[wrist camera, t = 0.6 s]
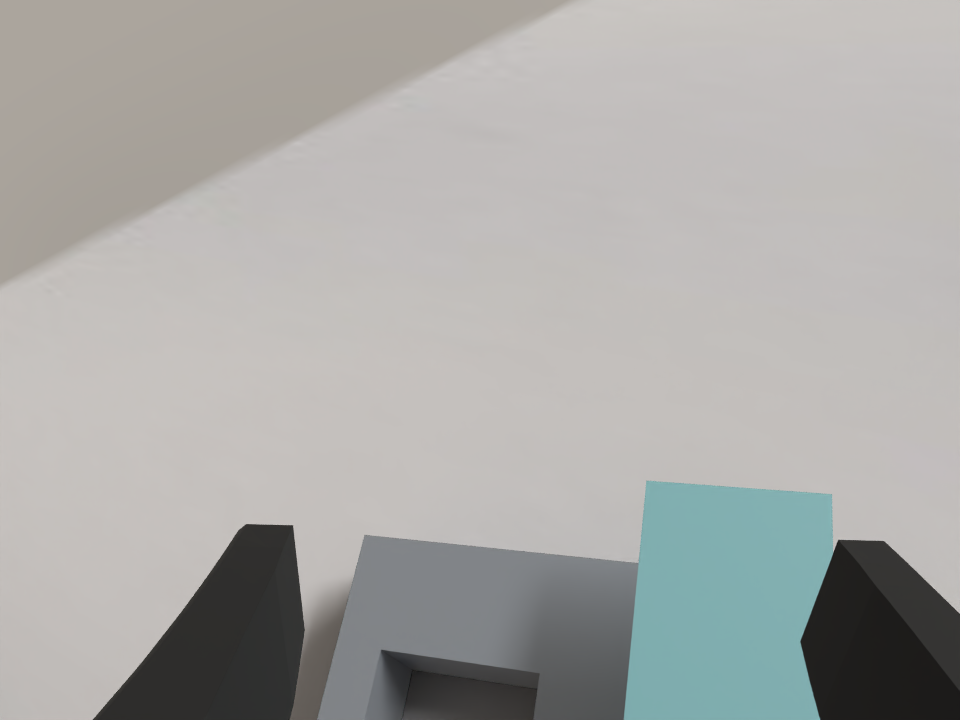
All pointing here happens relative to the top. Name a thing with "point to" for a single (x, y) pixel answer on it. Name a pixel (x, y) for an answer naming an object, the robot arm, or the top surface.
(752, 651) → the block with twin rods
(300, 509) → the top surface
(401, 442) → the top surface
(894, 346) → the top surface
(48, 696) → the top surface
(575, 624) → the socket block
